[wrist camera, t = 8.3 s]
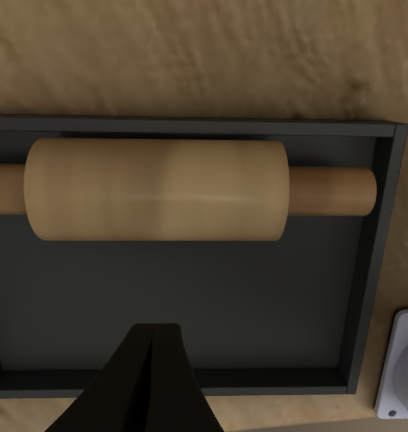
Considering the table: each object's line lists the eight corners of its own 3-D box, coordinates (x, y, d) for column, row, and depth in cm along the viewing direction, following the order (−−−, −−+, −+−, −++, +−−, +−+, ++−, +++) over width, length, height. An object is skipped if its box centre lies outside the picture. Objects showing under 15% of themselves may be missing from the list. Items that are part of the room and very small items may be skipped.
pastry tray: (387, 120, 18) (409, 123, 16) (342, 370, 23) (356, 394, 21) (-56, 112, 17) (-86, 114, 15) (-3, 374, 22) (-20, 399, 20)
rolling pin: (382, 256, 15) (339, 223, 19) (400, 146, 13) (350, 138, 18) (-75, 256, 14) (-13, 222, 18) (-100, 140, 13) (-28, 133, 17)
